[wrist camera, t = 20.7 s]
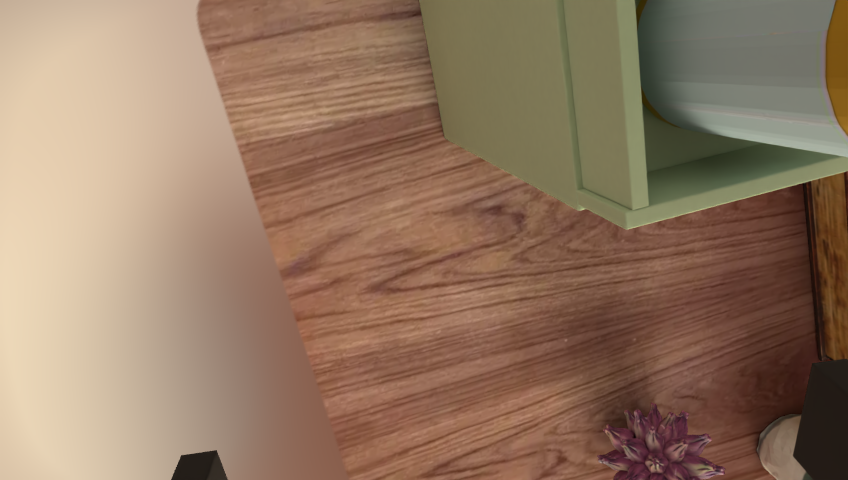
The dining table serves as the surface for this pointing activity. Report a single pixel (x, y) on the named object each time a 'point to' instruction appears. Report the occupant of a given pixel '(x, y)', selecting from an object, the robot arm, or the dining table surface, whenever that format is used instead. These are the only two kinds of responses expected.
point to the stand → (586, 112)
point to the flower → (658, 449)
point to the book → (829, 261)
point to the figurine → (781, 449)
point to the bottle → (748, 69)
